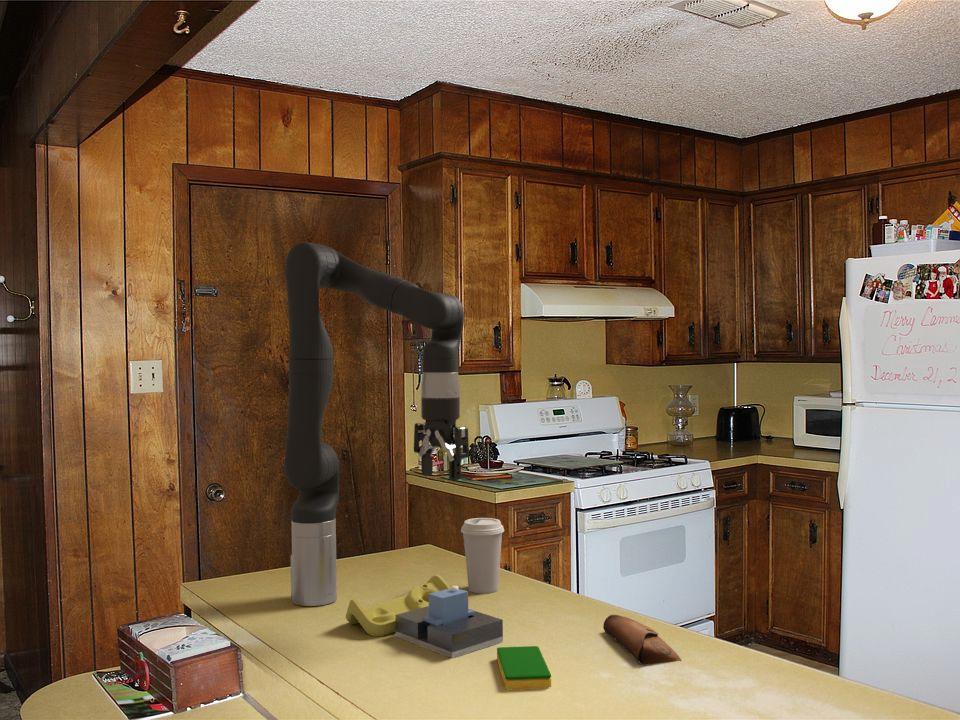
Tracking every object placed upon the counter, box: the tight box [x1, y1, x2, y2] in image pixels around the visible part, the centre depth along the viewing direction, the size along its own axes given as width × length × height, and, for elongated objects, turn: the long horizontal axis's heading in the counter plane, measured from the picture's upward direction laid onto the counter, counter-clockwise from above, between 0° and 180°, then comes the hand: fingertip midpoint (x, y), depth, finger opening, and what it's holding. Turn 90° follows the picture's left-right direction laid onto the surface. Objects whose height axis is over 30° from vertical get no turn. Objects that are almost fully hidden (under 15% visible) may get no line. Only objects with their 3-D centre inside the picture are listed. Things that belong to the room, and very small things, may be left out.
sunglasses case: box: [602, 614, 682, 666], centre depth 155 cm, size 18×7×7 cm, turn 11°
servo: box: [422, 585, 475, 626], centre depth 160 cm, size 4×9×8 cm, turn 133°
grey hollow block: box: [395, 606, 504, 659], centre depth 160 cm, size 16×12×4 cm
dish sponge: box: [496, 645, 552, 691], centre depth 143 cm, size 7×14×2 cm, turn 5°
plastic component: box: [345, 574, 451, 637], centre depth 171 cm, size 20×7×10 cm
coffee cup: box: [460, 517, 505, 594], centre depth 193 cm, size 10×10×15 cm
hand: (440, 477), depth 173 cm, fingers open, 8 cm apart
